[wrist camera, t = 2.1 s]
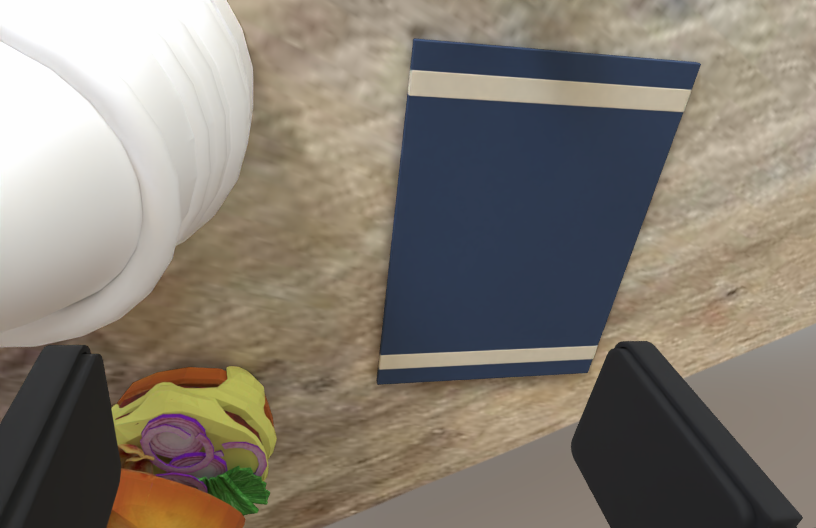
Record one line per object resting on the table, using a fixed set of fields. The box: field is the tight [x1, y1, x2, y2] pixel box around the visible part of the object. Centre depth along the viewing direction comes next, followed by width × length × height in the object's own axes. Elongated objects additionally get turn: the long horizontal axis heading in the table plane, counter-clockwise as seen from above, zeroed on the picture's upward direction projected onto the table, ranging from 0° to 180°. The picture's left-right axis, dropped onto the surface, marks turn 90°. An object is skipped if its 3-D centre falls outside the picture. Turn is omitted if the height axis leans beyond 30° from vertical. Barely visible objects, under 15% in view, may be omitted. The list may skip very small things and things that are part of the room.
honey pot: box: [0, 0, 253, 347], centre depth 16 cm, size 13×13×18 cm
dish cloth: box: [377, 39, 701, 385], centre depth 32 cm, size 21×15×1 cm
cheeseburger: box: [107, 366, 277, 528], centre depth 32 cm, size 10×11×10 cm
